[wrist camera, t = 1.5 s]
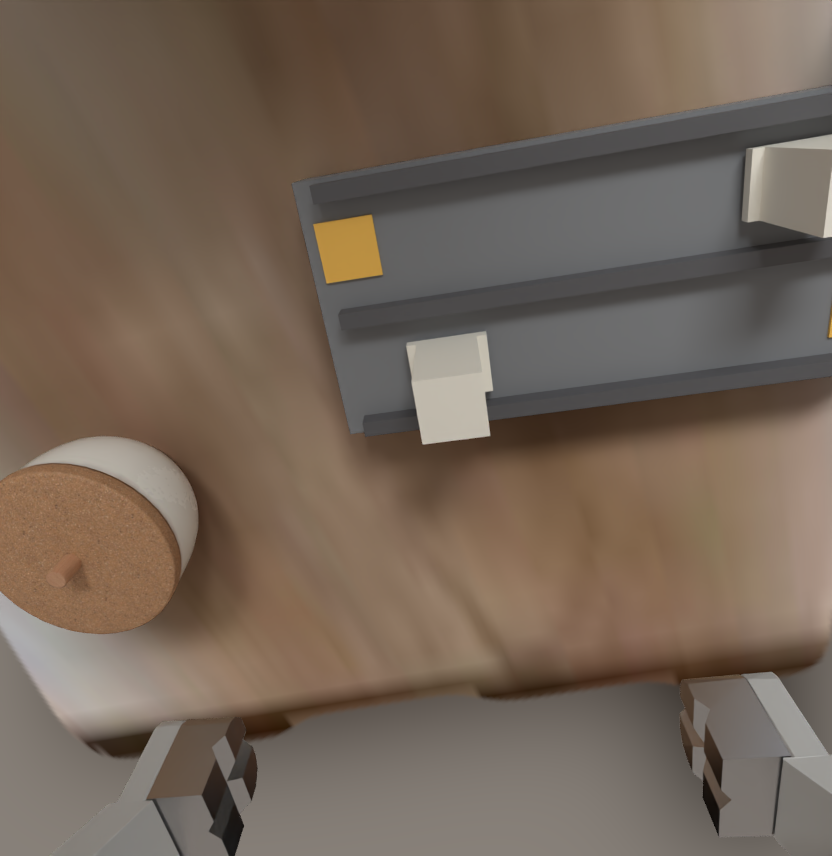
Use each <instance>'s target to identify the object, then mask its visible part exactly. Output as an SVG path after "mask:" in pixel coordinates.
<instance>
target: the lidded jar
mask: <svg viewBox="0 0 832 856" xmlns="http://www.w3.org/2000/svg"><path fill="white" fill-rule="evenodd" d="M197 532H198V507H197V501H196V498H195V495H194V492H193V489H192V487H191V485H190V483H189V481H188V479H187V477H186V476H185V475H184V473H183V472H182V471H181V469H180V468H179V467H178V466H177V465H176V464H175V463H174V462H173V461H172V460H171V459H170V458H169V457H168V456H167V455H165V454H164V453H162V452H161V451H159V450H158V449H155V448H154V447H152V446H149V445H147V444H145V443H143V442H140V441H136V440H133V439H129V438H123V437H117V436H95V437H88V438H81V439H78V440H74V441H70V442H68V443H65V444H62V445H60V446H57V447H55V448H53V449H51V450H49V451H47V452H45V453H43V454H42V455H40V456H38V457H36V458H35V459H33V460H32V461H30V462H29V463H27V464H26V465H25V466H23V467H22V468H21V469H19V470H18V471H16V472H14V473H12V474H10V475H8V476H7V477H6V478H4V479H3V480H2V481H0V591H1V592H2V593H3V594H4V595H5V596H6V597H7V598H8V599H10V600H11V601H12V602H13V603H14V604H16V605H17V606H18V607H20V608H21V609H23V610H25V611H26V612H28V613H29V614H31V615H33V616H35V617H37V618H39V619H41V620H42V621H44V622H47V623H50V624H52V625H55V626H58V627H61V628H64V629H68V630H71V631H76V632H83V633H93V634H109V633H118V632H123V631H128V630H131V629H134V628H136V627H139V626H142V625H144V624H145V623H147V622H149V621H151V620H152V619H154V618H155V617H156V616H157V615H158V614H159V613H161V612H162V611H163V609H164V608H165V607H166V605H167V604H168V603H169V601H170V599H171V598H172V596H173V594H174V592H175V590H176V588H177V585H178V583H179V580H180V578H181V576H182V574H183V572H184V570H185V568H186V566H187V564H188V562H189V560H190V557H191V554H192V552H193V549H194V545H195V541H196V536H197Z"/></svg>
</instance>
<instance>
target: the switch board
mask: <svg viewBox="0 0 832 856" xmlns="http://www.w3.org/2000/svg"><path fill="white" fill-rule="evenodd" d="M830 134H832V85H830V86H824V87H818V88H813V89H807V90H802V91H796V92H790V93H785V94H779V95H774V96H768V97H762V98H757V99H751V100H745V101H740V102H734V103H729V104H723V105H717V106H712V107H706V108H701V109H695V110H689V111H684V112H678V113H672V114H667V115H661V116H656V117H650V118H644V119H639V120H633V121H628V122H622V123H616V124H611V125H605V126H600V127H594V128H588V129H583V130H577V131H571V132H566V133H560V134H555V135H549V136H543V137H538V138H532V139H527V140H521V141H515V142H510V143H504V144H499V145H493V146H487V147H482V148H476V149H470V150H465V151H459V152H454V153H448V154H442V155H437V156H431V157H426V158H420V159H414V160H409V161H403V162H397V163H392V164H386V165H381V166H375V167H369V168H364V169H358V170H353V171H347V172H341V173H336V174H330V175H325V176H319V177H313V178H308V179H303V180H300V181H297V182H294V183H292V188H293V192H294V196H295V200H296V205H297V209H298V213H299V217H300V222H301V226H302V230H303V235H304V239H305V243H306V247H307V252H308V256H309V260H310V264H311V269H312V273H313V277H314V281H315V286H316V290H317V294H318V298H319V303H320V307H321V311H322V315H323V320H324V324H325V328H326V332H327V337H328V341H329V345H330V349H331V354H332V358H333V362H334V366H335V371H336V375H337V379H338V383H339V388H340V392H341V396H342V400H343V405H344V409H345V413H346V418H347V422H348V426H349V430H350V434H354V433H362V432H364V433H365V437H367V436H375V435H382V434H390V433H398V432H405V431H413V430H420V427H419V422H418V416H417V410H416V405H415V399H414V394H413V388H412V383H411V381H412V376H411V370H410V365H409V359H408V353H407V348H406V345H407V342H414V341H421V340H428V339H435V338H442V337H448V336H455V335H462V334H469V333H476V332H483V331H486V334H487V342H488V351H489V359H490V368H491V376H492V385H493V391H488V392H485V397H486V405H487V413H488V421H490V420H498V419H506V418H513V417H521V416H529V415H537V414H544V413H552V412H560V411H567V410H575V409H583V408H591V407H598V406H606V405H614V404H621V403H629V402H637V401H644V400H652V399H660V398H668V397H675V396H683V395H691V394H698V393H706V392H714V391H722V390H729V389H737V388H745V387H752V386H760V385H768V384H776V383H783V382H791V381H799V380H806V379H814V378H822V377H830V376H832V237H827V238H821V237H818V236H814V235H810V234H807V233H803V232H799V231H796V230H792V229H788V228H785V227H781V226H777V225H774V224H770V223H766V222H763V221H754V222H744V221H742V207H743V192H744V177H745V162H746V149H748V148H754V147H760V146H766V145H772V144H777V143H783V142H789V141H795V140H801V139H807V138H813V137H819V136H825V135H830Z"/></svg>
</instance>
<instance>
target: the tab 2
mask: <svg viewBox="0 0 832 856" xmlns="http://www.w3.org/2000/svg"><path fill="white" fill-rule="evenodd" d="M742 221H744V222H754V221H763V222H766V223H770V224H774V225H777V226H781V227H785V228H788V229H792V230H796V231H799V232H803V233H807V234H810V235H814V236H818V237H821V238H827V237H832V134H830V135H825V136H819V137H813V138H807V139H801V140H795V141H789V142H783V143H777V144H772V145H766V146H760V147H754V148H748V149H746V162H745V177H744V192H743V207H742Z"/></svg>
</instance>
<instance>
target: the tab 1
mask: <svg viewBox="0 0 832 856" xmlns="http://www.w3.org/2000/svg"><path fill="white" fill-rule="evenodd" d="M406 348H407V353H408V359H409V365H410V370H411V376H412V381H411V383H412V388H413V394H414V399H415V405H416V410H417V416H418V422H419V427H420V433H421V438H422V444H431V443H439V442H447V441H455V440H463V439H471V438H479V437H486V436H490V429H489V421H488V413H487V405H486V397H485V392H488V391H493V385H492V376H491V368H490V359H489V351H488V342H487V334H486V331H483V332H476V333H469V334H462V335H455V336H448V337H442V338H435V339H428V340H421V341H414V342H407V345H406Z"/></svg>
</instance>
